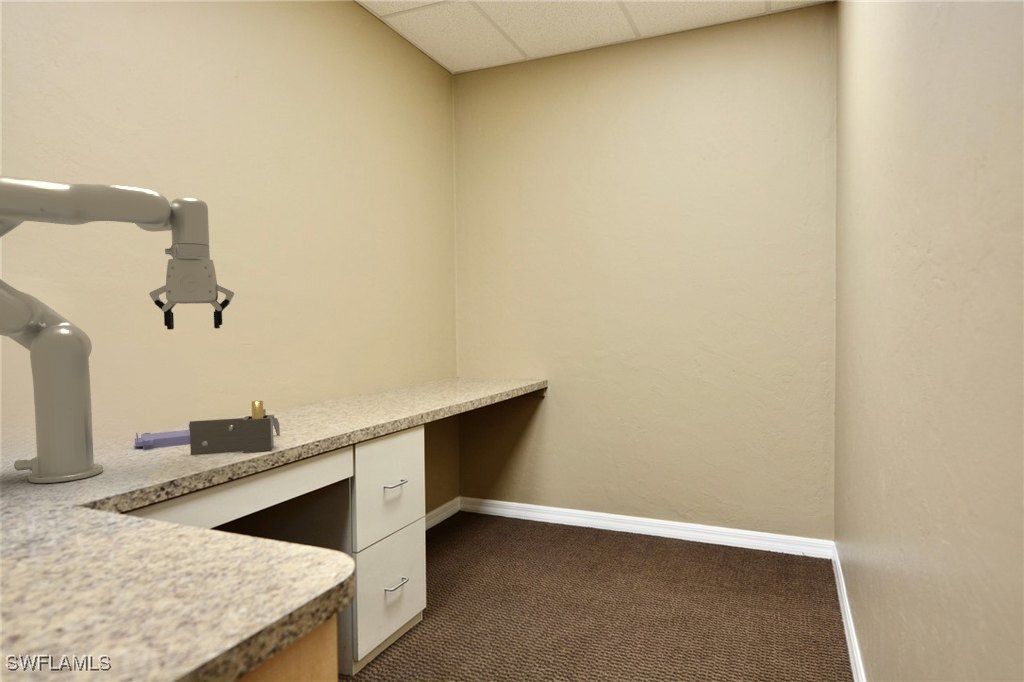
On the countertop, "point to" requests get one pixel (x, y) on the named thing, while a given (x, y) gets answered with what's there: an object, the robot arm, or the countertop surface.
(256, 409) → the pin
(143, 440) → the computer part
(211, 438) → the hinge
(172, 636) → the countertop surface
